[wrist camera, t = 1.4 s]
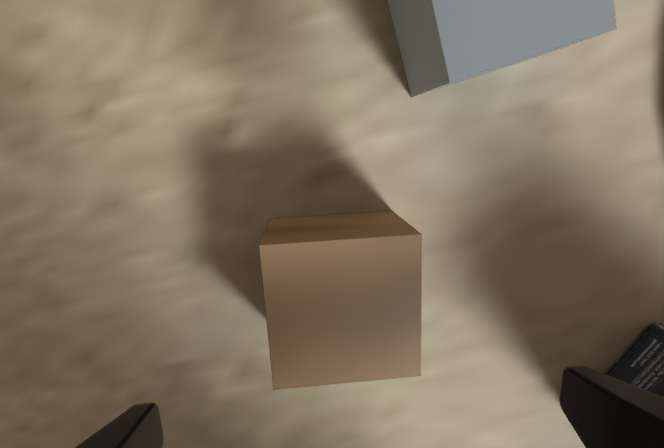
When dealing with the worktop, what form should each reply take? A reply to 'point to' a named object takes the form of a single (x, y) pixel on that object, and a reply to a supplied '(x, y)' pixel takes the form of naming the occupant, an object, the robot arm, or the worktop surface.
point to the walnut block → (342, 298)
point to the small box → (644, 362)
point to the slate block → (487, 34)
